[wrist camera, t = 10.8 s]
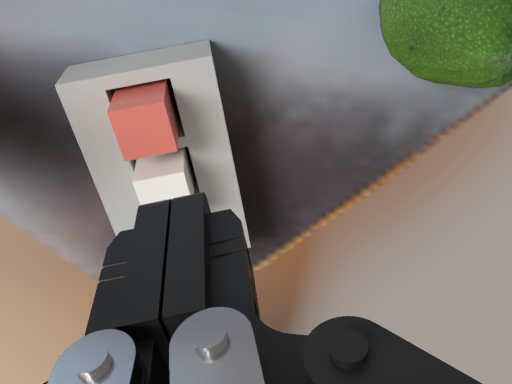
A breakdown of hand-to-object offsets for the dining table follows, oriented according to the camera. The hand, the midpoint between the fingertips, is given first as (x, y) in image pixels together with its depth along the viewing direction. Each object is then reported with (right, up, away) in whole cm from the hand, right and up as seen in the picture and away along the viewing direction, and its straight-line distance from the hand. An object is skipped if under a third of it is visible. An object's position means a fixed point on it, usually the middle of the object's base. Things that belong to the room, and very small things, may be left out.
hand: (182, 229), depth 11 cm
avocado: (+13, +15, +22) cm, 30 cm away
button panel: (-5, +4, +26) cm, 27 cm away
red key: (-6, +7, +21) cm, 23 cm away
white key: (-5, +3, +24) cm, 25 cm away
